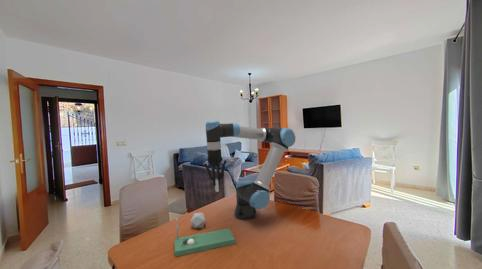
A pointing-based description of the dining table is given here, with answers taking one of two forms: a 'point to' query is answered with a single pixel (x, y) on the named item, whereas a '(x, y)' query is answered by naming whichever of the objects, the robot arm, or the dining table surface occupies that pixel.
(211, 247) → the mini golf green
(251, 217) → the robot arm
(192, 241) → the ball
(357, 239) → the dining table surface
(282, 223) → the dining table surface
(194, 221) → the die
